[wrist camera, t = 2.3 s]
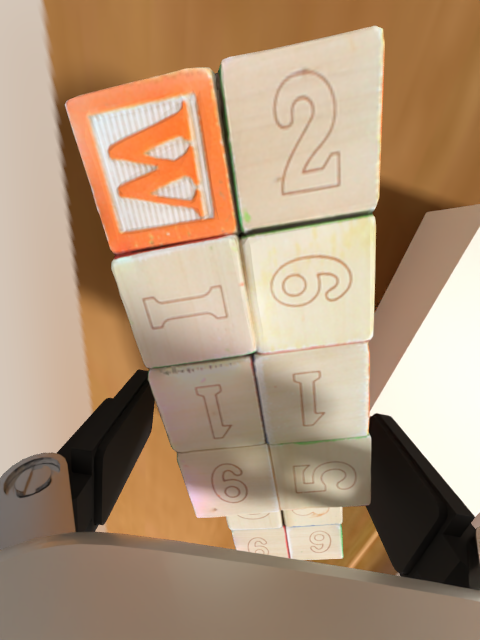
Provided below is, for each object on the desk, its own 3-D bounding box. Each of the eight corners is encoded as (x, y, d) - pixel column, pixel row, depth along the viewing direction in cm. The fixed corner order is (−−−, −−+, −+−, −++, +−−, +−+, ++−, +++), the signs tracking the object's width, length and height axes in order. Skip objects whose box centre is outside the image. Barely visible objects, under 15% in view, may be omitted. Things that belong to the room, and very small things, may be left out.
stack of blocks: (307, 434, 22) (369, 648, 11) (241, 440, 23) (231, 650, 11) (287, 179, 15) (398, -1, 4) (194, 196, 16) (47, 83, 4)
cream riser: (577, 264, 17) (707, 275, 12) (425, 464, 23) (470, 521, 18) (422, 212, 16) (494, 202, 11) (310, 433, 23) (326, 484, 18)
